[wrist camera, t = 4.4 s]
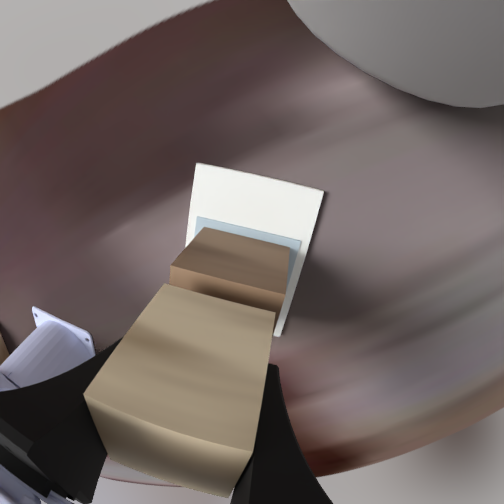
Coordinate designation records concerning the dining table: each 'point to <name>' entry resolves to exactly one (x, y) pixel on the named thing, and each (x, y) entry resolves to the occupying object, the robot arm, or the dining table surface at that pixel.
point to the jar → (418, 44)
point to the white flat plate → (256, 214)
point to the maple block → (185, 390)
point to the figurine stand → (3, 351)
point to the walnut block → (234, 269)
